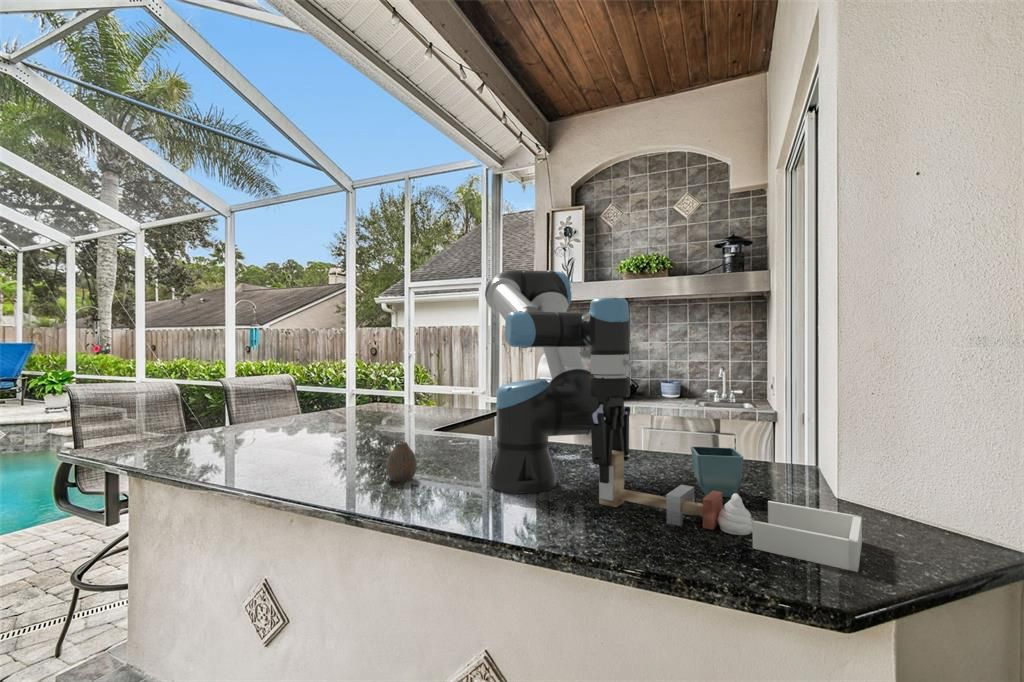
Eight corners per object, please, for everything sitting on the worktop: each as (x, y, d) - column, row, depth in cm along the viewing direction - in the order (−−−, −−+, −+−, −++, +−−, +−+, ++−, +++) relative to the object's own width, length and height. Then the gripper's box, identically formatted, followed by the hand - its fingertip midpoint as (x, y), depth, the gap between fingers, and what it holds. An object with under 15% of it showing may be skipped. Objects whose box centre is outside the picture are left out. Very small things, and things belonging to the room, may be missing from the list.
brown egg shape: (403, 474, 118) (403, 438, 118) (423, 479, 114) (422, 441, 114) (380, 481, 113) (380, 443, 113) (400, 485, 109) (400, 446, 109)
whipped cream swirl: (756, 500, 78) (720, 498, 79) (757, 537, 78) (721, 535, 79) (747, 490, 83) (713, 488, 84) (748, 525, 83) (714, 523, 84)
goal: (752, 548, 73) (752, 521, 73) (769, 523, 83) (768, 500, 83) (858, 572, 65) (857, 542, 65) (862, 541, 75) (861, 516, 75)
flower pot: (745, 502, 95) (744, 456, 96) (698, 499, 97) (697, 454, 97) (734, 489, 104) (733, 447, 104) (691, 487, 106) (690, 446, 106)
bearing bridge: (666, 523, 84) (666, 494, 84) (681, 511, 90) (681, 484, 90) (680, 526, 83) (680, 496, 83) (694, 514, 89) (694, 486, 89)
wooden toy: (596, 505, 93) (595, 453, 94) (610, 497, 98) (609, 448, 98) (712, 530, 80) (711, 469, 80) (722, 520, 85) (721, 463, 85)
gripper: (608, 379, 86) (609, 511, 86) (645, 375, 99) (647, 489, 99) (571, 378, 91) (573, 503, 90) (612, 374, 104) (613, 483, 103)
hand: (611, 495), depth 95 cm, fingers closed on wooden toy, 4 cm apart
